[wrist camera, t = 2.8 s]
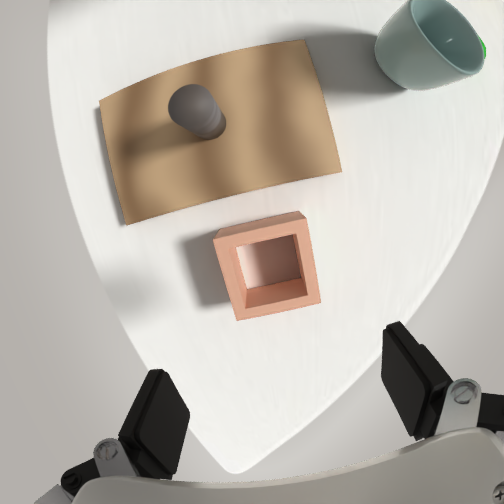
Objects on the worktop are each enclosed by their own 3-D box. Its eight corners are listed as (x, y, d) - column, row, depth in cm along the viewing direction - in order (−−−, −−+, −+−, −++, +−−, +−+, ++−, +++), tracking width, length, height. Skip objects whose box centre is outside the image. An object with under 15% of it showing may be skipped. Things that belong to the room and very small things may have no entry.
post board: (301, 45, 20) (318, -1, 12) (337, 172, 23) (375, 172, 15) (106, 103, 21) (55, 86, 13) (133, 222, 25) (85, 245, 17)
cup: (437, 73, 19) (493, 50, 10) (407, 111, 21) (469, 92, 11) (386, 23, 18) (429, -18, 8) (350, 57, 20) (392, 11, 10)
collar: (298, 210, 24) (306, 218, 20) (312, 284, 26) (320, 302, 22) (219, 229, 25) (212, 239, 21) (239, 300, 27) (236, 320, 23)
